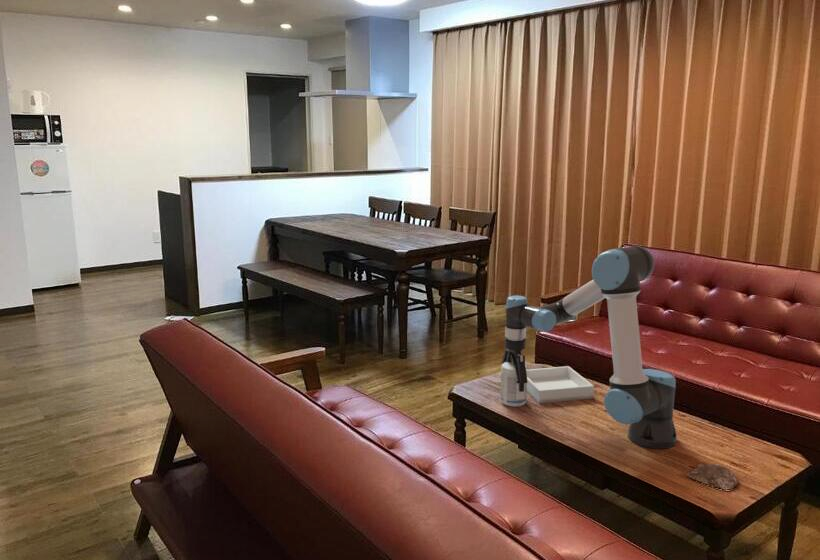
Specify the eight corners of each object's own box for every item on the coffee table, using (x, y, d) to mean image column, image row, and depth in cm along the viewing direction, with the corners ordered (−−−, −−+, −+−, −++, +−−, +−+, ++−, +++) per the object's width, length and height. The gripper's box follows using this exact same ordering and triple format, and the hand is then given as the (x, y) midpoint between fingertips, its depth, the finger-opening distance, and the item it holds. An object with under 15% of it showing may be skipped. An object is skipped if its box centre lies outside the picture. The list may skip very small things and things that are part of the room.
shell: (700, 465, 200) (701, 454, 199) (744, 480, 191) (745, 469, 190) (683, 478, 192) (684, 467, 191) (728, 495, 183) (729, 483, 182)
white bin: (593, 398, 249) (594, 385, 248) (539, 403, 245) (539, 390, 244) (568, 377, 270) (568, 366, 269) (517, 381, 266) (518, 370, 265)
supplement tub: (531, 402, 246) (532, 365, 242) (516, 409, 239) (517, 371, 236) (510, 395, 253) (511, 359, 249) (495, 402, 246) (496, 365, 243)
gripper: (538, 347, 229) (535, 404, 234) (512, 327, 253) (511, 378, 258) (518, 349, 228) (515, 406, 232) (494, 328, 251) (493, 380, 256)
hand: (513, 391), depth 245 cm, fingers open, 13 cm apart
